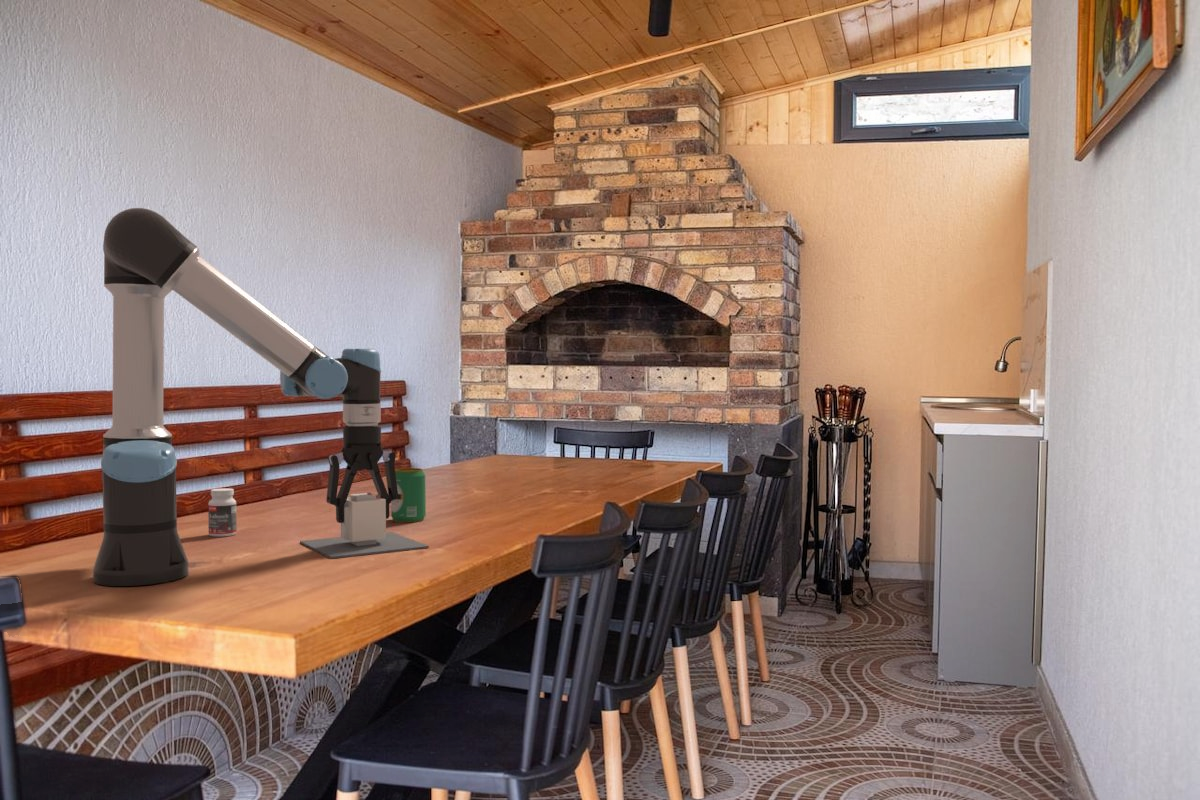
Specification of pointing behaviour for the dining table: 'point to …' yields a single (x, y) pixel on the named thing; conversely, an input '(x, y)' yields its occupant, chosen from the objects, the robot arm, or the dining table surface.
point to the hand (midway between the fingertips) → (363, 536)
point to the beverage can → (409, 496)
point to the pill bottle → (222, 513)
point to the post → (348, 549)
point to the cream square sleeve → (367, 519)
